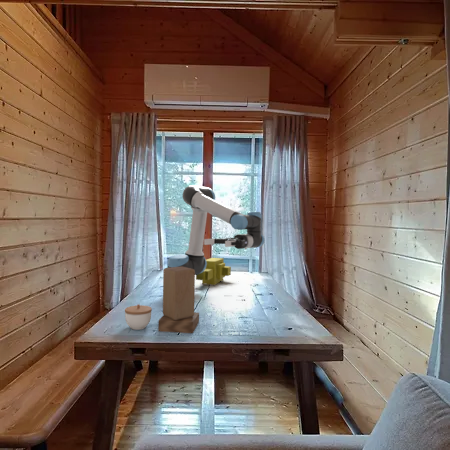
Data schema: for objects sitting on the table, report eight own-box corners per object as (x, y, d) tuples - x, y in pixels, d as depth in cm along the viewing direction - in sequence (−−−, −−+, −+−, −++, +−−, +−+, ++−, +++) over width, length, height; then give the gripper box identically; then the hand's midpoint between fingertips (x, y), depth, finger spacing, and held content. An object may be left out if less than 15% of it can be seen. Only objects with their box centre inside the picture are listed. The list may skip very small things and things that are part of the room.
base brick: (158, 332, 137) (158, 320, 137) (167, 322, 151) (167, 310, 151) (192, 334, 135) (193, 322, 135) (198, 324, 149) (199, 312, 149)
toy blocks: (212, 257, 258) (233, 258, 253) (211, 278, 258) (232, 280, 253) (194, 262, 224) (218, 264, 219) (194, 287, 224) (217, 289, 220)
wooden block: (195, 317, 142) (195, 268, 141) (174, 321, 136) (174, 271, 135) (182, 311, 150) (182, 265, 149) (161, 315, 143) (162, 267, 143)
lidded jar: (135, 321, 148) (135, 300, 148) (156, 325, 144) (156, 303, 144) (118, 329, 138) (119, 306, 138) (140, 333, 134) (141, 309, 134)
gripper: (262, 250, 170) (235, 253, 154) (224, 246, 186) (196, 248, 170) (262, 235, 170) (235, 236, 154) (224, 232, 186) (196, 233, 170)
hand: (214, 242), depth 162 cm, fingers open, 13 cm apart
